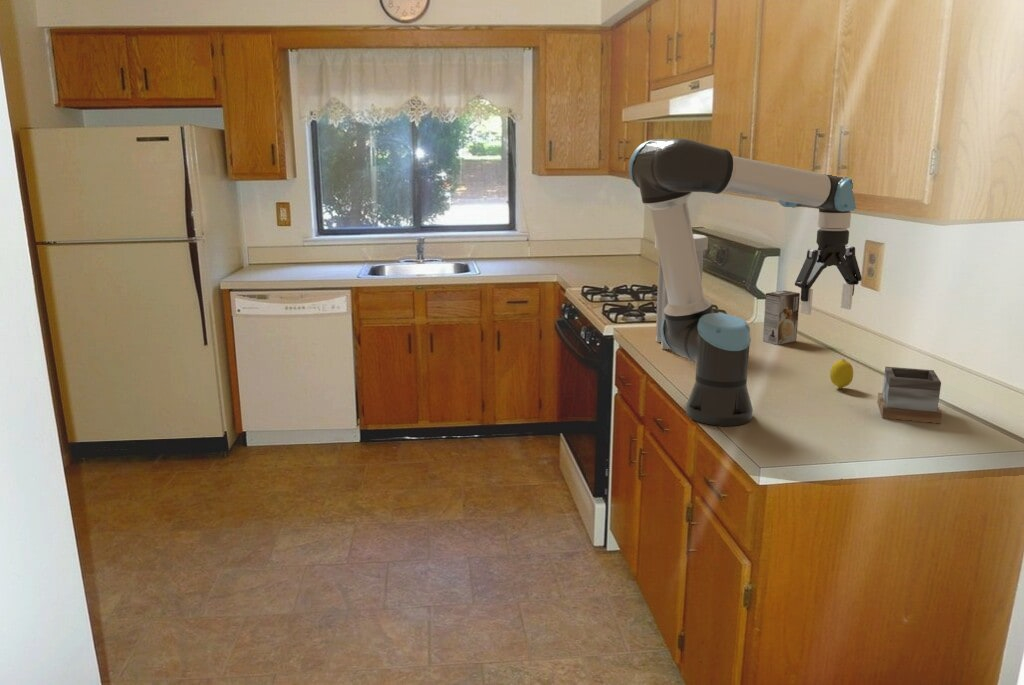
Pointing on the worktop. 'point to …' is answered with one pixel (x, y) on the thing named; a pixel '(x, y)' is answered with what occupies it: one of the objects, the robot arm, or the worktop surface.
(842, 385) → the lemon
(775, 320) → the coffee box
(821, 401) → the worktop surface
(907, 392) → the planter box
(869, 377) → the worktop surface
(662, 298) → the stool
